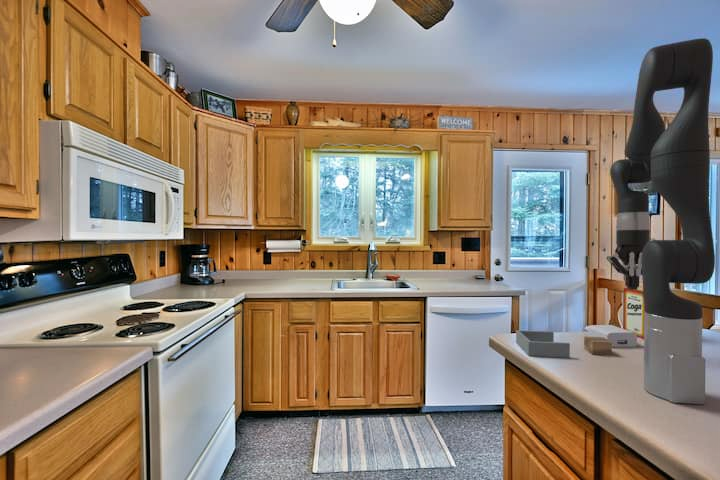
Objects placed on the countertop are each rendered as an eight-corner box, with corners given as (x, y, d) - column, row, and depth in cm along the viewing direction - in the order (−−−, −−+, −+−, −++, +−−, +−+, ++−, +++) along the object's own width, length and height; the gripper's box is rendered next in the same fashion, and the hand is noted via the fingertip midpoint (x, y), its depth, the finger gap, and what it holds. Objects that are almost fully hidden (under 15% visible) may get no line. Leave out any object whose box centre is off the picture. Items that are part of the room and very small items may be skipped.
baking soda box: (623, 331, 121) (623, 286, 120) (641, 331, 121) (642, 286, 120) (645, 340, 111) (646, 290, 111) (665, 339, 111) (666, 290, 111)
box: (569, 357, 95) (569, 343, 95) (528, 356, 97) (528, 342, 97) (552, 344, 107) (552, 331, 107) (516, 342, 109) (516, 330, 109)
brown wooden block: (611, 356, 97) (611, 342, 97) (592, 355, 98) (592, 341, 98) (602, 350, 102) (602, 337, 102) (584, 349, 103) (584, 336, 103)
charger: (601, 333, 119) (637, 347, 104) (575, 334, 119) (607, 348, 104) (601, 320, 119) (637, 332, 104) (575, 320, 119) (607, 332, 104)
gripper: (614, 228, 95) (614, 290, 95) (668, 228, 93) (667, 291, 93) (600, 229, 103) (599, 286, 103) (649, 228, 100) (649, 287, 101)
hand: (632, 288), depth 98 cm, fingers closed
